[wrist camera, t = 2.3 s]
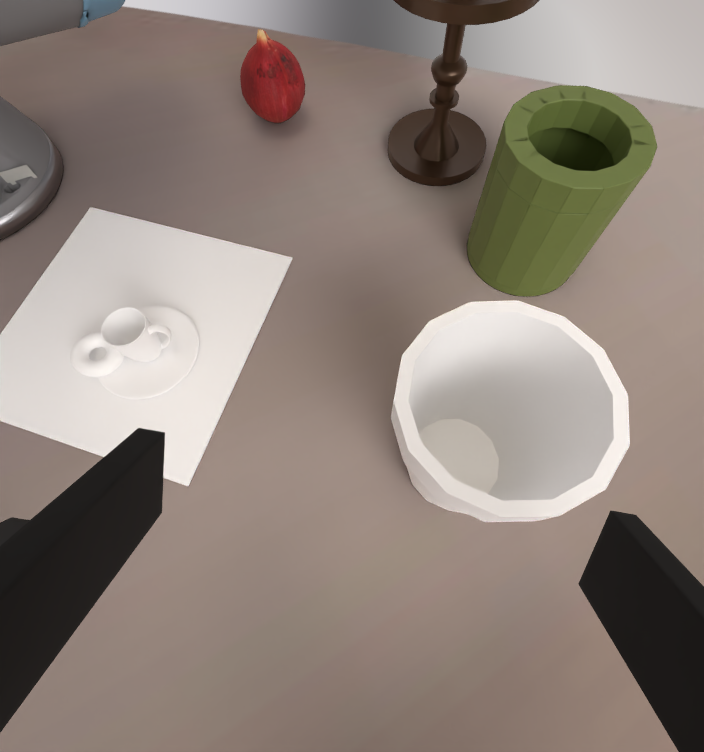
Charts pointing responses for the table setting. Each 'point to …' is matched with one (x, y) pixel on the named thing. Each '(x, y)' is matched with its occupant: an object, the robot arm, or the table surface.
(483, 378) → the foam cup
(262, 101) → the onion
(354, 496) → the table surface
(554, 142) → the thick-walled green cup
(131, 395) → the teacup and saucer
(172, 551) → the table surface
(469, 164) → the candlestick
